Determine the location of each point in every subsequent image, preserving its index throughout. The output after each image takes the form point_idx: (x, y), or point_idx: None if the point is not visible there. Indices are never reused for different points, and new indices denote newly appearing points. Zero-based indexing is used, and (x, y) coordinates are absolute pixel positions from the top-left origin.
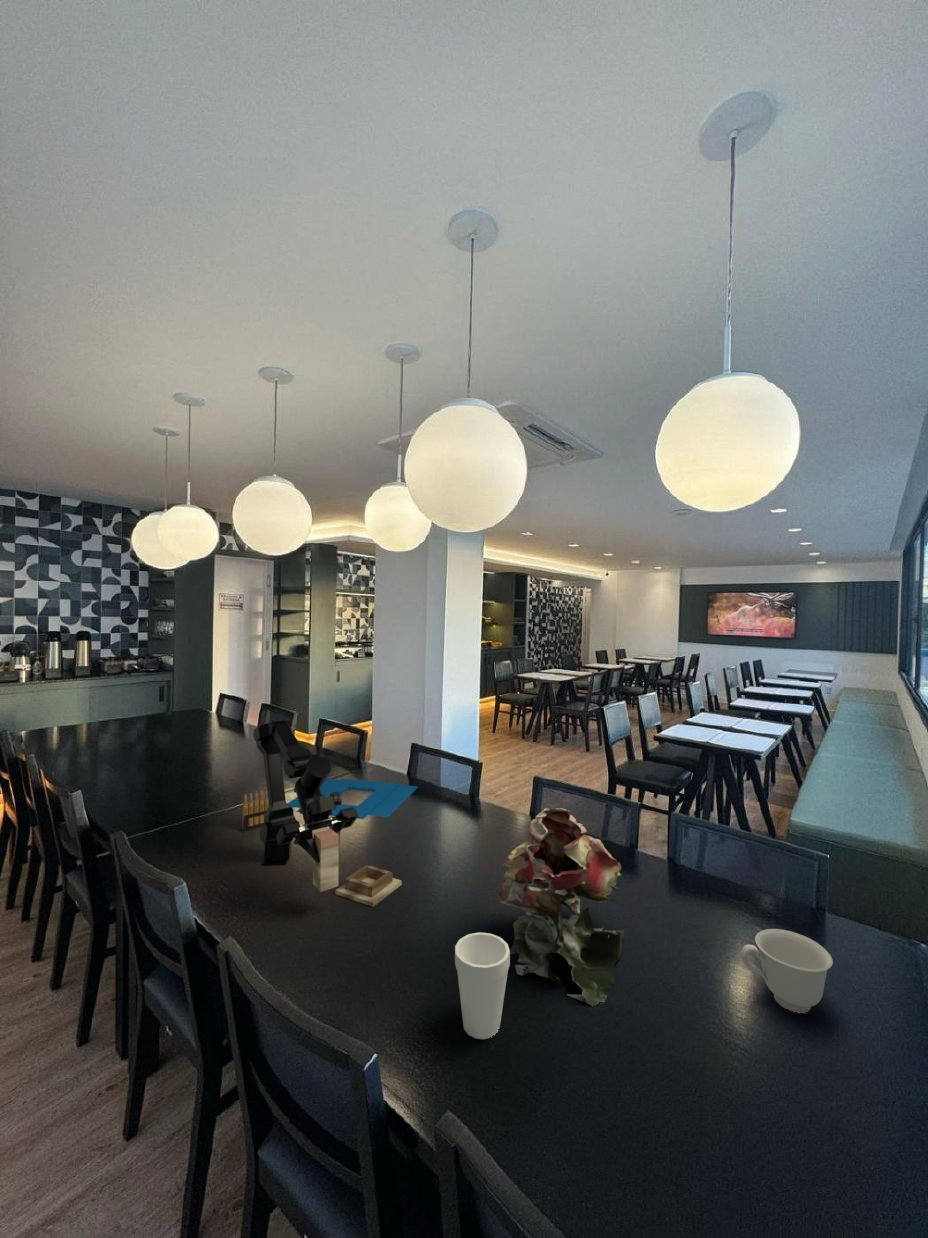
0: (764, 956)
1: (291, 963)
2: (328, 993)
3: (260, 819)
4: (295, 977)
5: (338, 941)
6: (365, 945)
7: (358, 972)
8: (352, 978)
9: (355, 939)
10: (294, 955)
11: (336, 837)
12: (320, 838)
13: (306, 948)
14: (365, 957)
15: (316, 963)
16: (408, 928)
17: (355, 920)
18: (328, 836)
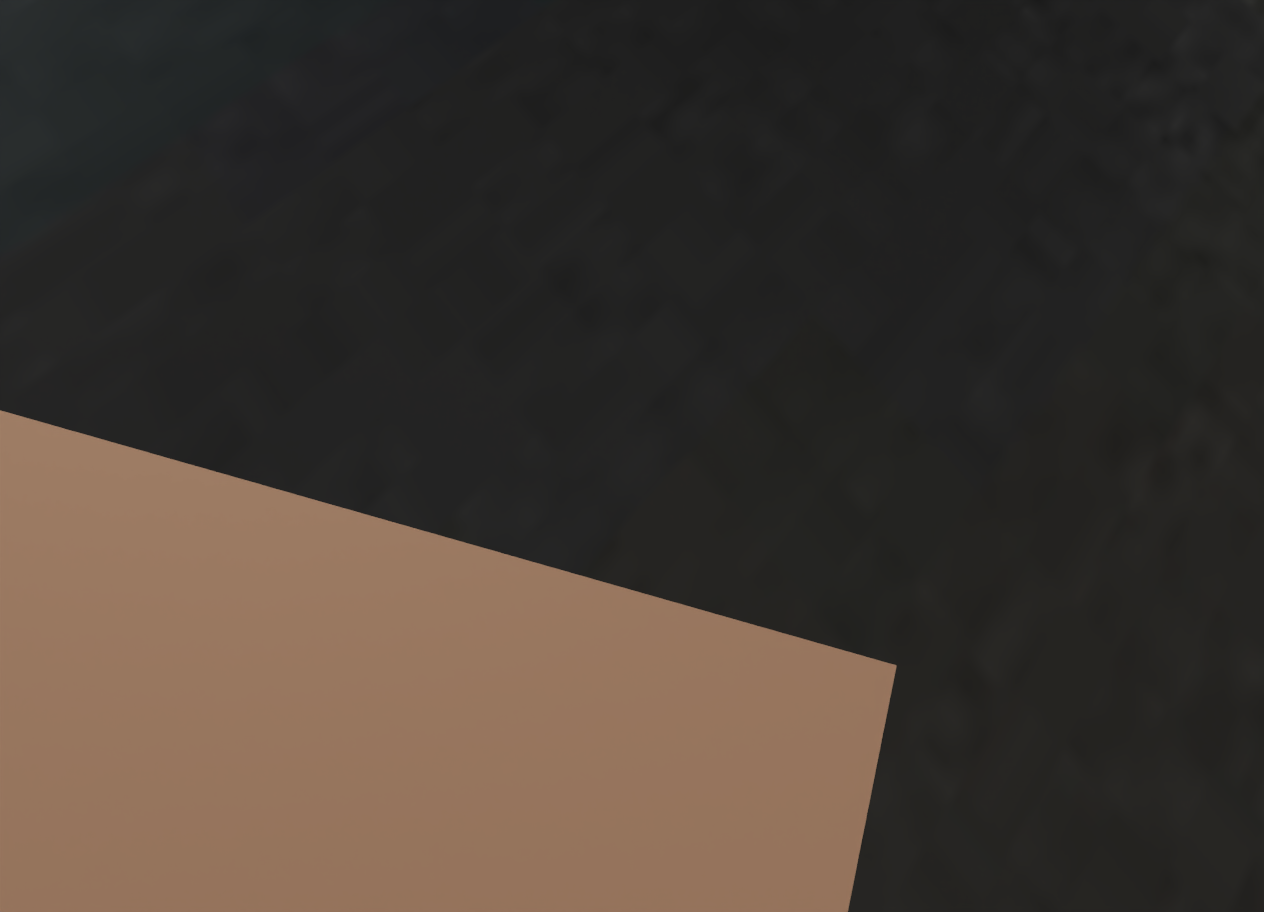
0: None
1: (1209, 463)
2: (1160, 35)
3: None
4: (1259, 309)
5: (769, 382)
6: (663, 183)
7: (900, 28)
8: (965, 18)
9: (659, 293)
10: (1141, 529)
11: (12, 432)
12: (789, 878)
13: (1016, 524)
14: (762, 93)
15: (1059, 310)
16: (298, 78)
17: (456, 494)
18: (276, 687)
